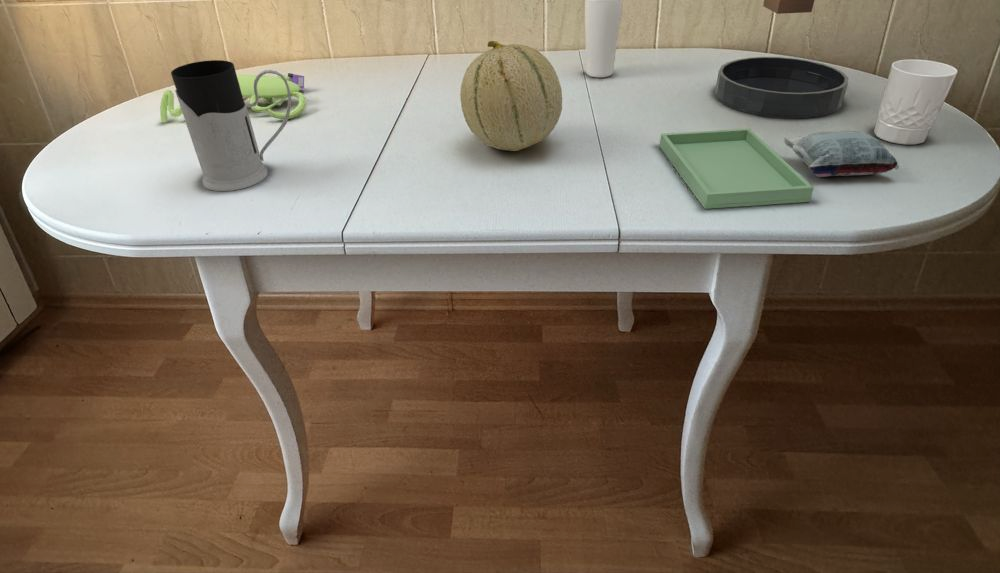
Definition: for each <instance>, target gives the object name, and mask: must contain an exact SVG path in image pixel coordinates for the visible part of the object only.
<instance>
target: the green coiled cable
mask: <svg viewBox="0 0 1000 573" xmlns="http://www.w3.org/2000/svg"><path fill="white" fill-rule="evenodd" d="M236 75H237V78H238V82H239V86H240V89H241V93H242V97H243V100H244V102H246V100H248V99H249V104H252V103H254V102H255V101H256V97H255V92H254V80H255V78H256V76H257V75H258V74H245V73H242V74H241V73H236ZM282 75H283V76H284V77H285V79H286V80H287V83H288V86H289V89H290V95H291V97H295V98H297V99H298V105H297V106H296V107H295V108H294V109H292V110H290V114H289V118H288V120H291V119H294V118H296V117H298V116H300V114H301V113H302V112H304V110H305V109H306V105H307V98H306V96H305V95H304V94H303V93H302V92H300V91H302V90H303V89H305V76H304V75H300V74H294V73H290V72H288V73H287V75H284V74H282ZM257 92H258V97H259V99H263V100H264V101H265V102H267V103H268V104H269V105H268V106H259V104H257V105H255V106H254V107H250V108H251V110H253V111H255V112H257V113H261V112H265V111H268V113H269V114H268V115H270V116H272V117H273V118H274V119H277V120H284V118H285V115H286V112H277V111H273V110H272V108H273V107H275V106H281V105H282V104H283V103H284V102H283V101H284V100H286V99H288V94H287V87H286V85H285V82H284V80H283V79H282V78H281V77H280V76H278V75H275V76H268V75H262V76H261V77H260V79H259V81H258V83H257ZM272 102H273V103H272ZM159 105H160V106H159V111H160V112H159V113H160V120H161V122H163V123H167V122H168V121H169V120H168V113H169V114H170V116H171V117H173V118H177V117H181V115H183V113H182V110H181V107H180V105H178V107H177V108H175V96H174V92H173V91H172V90H171V89H168V90H164V92H163V95H162V97H161V100H160V104H159Z"/></svg>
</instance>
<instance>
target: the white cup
mask: <svg viewBox="0 0 1000 573" xmlns="http://www.w3.org/2000/svg"><path fill="white" fill-rule="evenodd" d="M957 74H958V69H956V67H954V66H953V65H950V64H947V63H944V62H939V61H934V60H928V59H916V58H915V59H913V58H912V59H900V60H895V61H893V62H892V63H891V65H890V69H889V72H888V77H887V81H886V82H885V83H886V84H885V87H884V91H883V94H882V98H881V104H880V106H879V110H878V117H877V120H876V124H875V126H874V130H873V133H874V135H875V136H876V137H877V138H879V139H881V140H883V141H886V142H889V143H893V144H898V145H919V144H923V143H924V142H925V141H926V140H927V138H928V136H929V133H930V131H931V128H932V127H933V125H934V124H935V122H936V120H937V117H938V115H939V114H940V112H941V110H942V108H943V105H944V103H945V101H946V98H947V96H948V94H949V92H950V90H951V87H952V85H953V83H954V81H955V78H956V76H957Z"/></svg>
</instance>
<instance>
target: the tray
mask: <svg viewBox="0 0 1000 573" xmlns="http://www.w3.org/2000/svg"><path fill="white" fill-rule="evenodd" d="M659 148H660V149H661V151H662V152H663V153H664V155H665V156H666V158H667V159H668V161H669V162H670V163H671V164H672V166H673V167H674V169H675V170H676V172H677V173H678V174H679V175H680V177H681V178H682V180H683V181H684V182H685V183H686V185H687V186H688V188H689V189H690V191H691V192H692V193H693V195H694V196H695V197H696V198H697V200H698V202H699V203H700V204H701V206H702V207H703V209H705V210H709V209H721V208H722V209H723V208H725V209H726V208H741V207H754V206H768V205H769V206H770V205H781V204H782V205H784V204H797V203H809V202H810V203H811V199H812V195H813V192H814V190H815V189H814V185H812V184H811V183H810V182H808V181H807V180H806V179H805V177H804V176H802V175H801V174H800V173H799V172H798V171H796V170H795V169H794V167H792V166H791V165H790V163H788V162H787V161H785V159H783V158H782V156H780V155H779V154H778V153H777V152H776V151H775V150H774V149H773V148H771V147H770V146H769V145H768V144H767V143H766V142H765V141H764V140H763V139H762V138H761V137H760V136H759V135H758V134H756V133H755V132H754V131H753V130H752V129H751V128H749V127H748V128H733V129H719V130H704V131H703V130H702V131H701V130H699V131H686V132H685V131H684V132H669V133H661V134H660V139H659Z"/></svg>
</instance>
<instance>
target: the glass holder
mask: <svg viewBox="0 0 1000 573" xmlns="http://www.w3.org/2000/svg"><path fill="white" fill-rule="evenodd" d="M236 74H237V70H236V68H235V64H234V63H233V62H232V61H229V60H221V59H220V60H218V59H217V60H216V59H213V60H212V59H211V60H202V61H196V62H195V61H194V62H190V63H186V64H183V65H180V66H177V67H175V68H174V69H172V70H171V72H170V75H171V78H172V81H173V85H174V87H175V91H174V92H175V94H176V98H177V101H178V104H179V106H180V107H181V110H182V113H183V114H182V116H183V118H184V121H185V124H186V128H187V130H188V133H189V136H190V139H191V142H192V145H193V148H194V151H195V154H196V157H197V160H198V163H199V166H200V169H201V172H202V182H201V183H202V186H203V187H204V188H205V189H207V190H210V191H214V192H232V191H233V192H234V191H238V190H242V189H246V188H250V187H252V186H254V185H256V184H258V183H261V182H262V181H263V180H264V179H266V177H267V176H268V175H269V171H268V168H267V167H266V166H265V165H264V163H263V162H264V153H265V152H266V151H267V149H268V147H269V146H271V144H272V143H273V142H274V141H275V140H276V138H277V137H278V136H279V135H280V133H281V132H282V131H283V129H284V128H285V126H286V125H287V124H288V121H289V119H288V118H289V114H290V111H291V108H292V96H291V95H290V89H289V86H288V83H287V80H286V79H285V77H284V76H285V75H284V74H282V73H280V72H278V71H277V70H273V69H265V70H263V71H260V72H259V73H258V74H256V75H257V76H256V78H255V80H254V92H255V97H256V101H255V102H254V103H252V104H250V103H248V104H247V102H246V101H244V100H243V97H242V93H241V89H240V86H239V82H238V78H237V75H236ZM266 74H271V75H272V74H273V75H276V76H280V77H281V78H282V79H283V80H284V82H285V85H286V87H287V94H288V98H287V108H286V112H285V113H286V115H285V118H284V119H283V120H282V123H280V124H281V125H280V126H279V127H278V129H277V130H276V131H275V133H274V134H273V135H272V136H271V137H270V138H269V139H268V141H267V142H266V143H265V144H264V145H263V147H262V148H261V149H260V150H259V146H258V143H257V140H256V136H255V132H254V129H253V125H252V121H251V118H250V115H249V110H248V108H251V107H254V106H255V105H258V103H259V101H260V100H259V99H260V98H259V97H258V92H257V83H258V81H259V79H260V77H261V76H265V75H266ZM283 75H284V76H283Z"/></svg>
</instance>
